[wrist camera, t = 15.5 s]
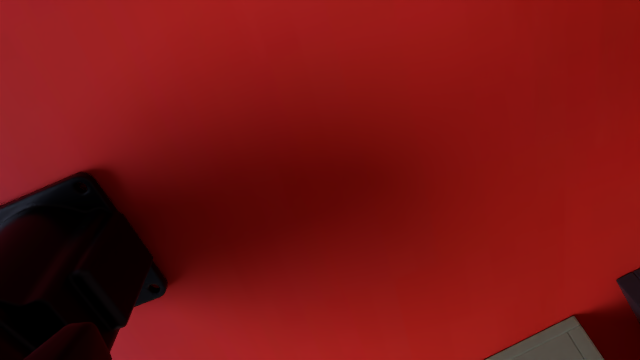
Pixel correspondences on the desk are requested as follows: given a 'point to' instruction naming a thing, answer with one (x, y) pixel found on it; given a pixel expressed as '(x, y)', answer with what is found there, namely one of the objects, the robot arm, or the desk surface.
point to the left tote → (554, 345)
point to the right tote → (631, 290)
